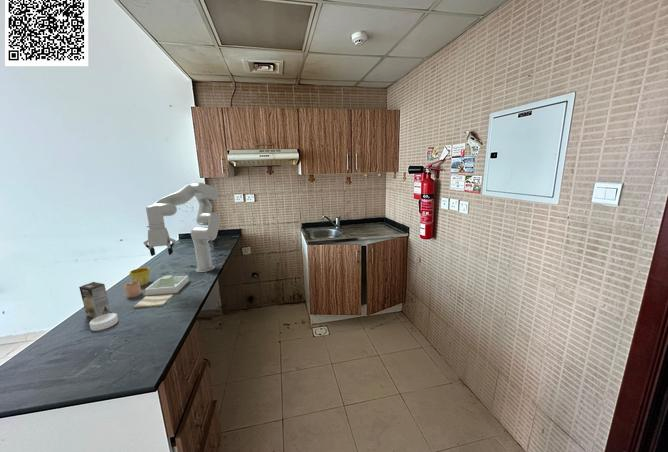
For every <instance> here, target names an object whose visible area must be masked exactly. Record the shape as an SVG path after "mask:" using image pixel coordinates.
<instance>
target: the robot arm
mask: <svg viewBox="0 0 668 452" xmlns="http://www.w3.org/2000/svg"><path fill="white" fill-rule="evenodd" d="M219 195H220V194H219V190H218V189H217V188H216V187H215V186H212V185H209V184H206V183H204V182H190V183H187V184H186V185H184V186H183V187H182V188H180V189H179V190H178V191H176V192H174V193H171V194H169V195H167V196H164V197H162V198H159V199H158V200H157V201H155V202H154V203H153V204H152V205H147V206H146V207H145V211H146V217H147V222H148V225H146V228H148V229H147V240H145V241H143V245H144V246H145V248H147V249H148V250H149V254H150V256H151V257H153V256H155V255H156V250H155V247H165V246H166V247H167V252H168V255H169V256H170V255H172V254H173V253H174V252H173V251H174V250H173V247H174V246H175V245H176V241H177V240H176V239H174V238H171V237H170V234H169V232H168V229H167V227H166V226H165V220H164V217H172V216H174V215H175V214H176V213H177V212H178V209H177V206H180V205H184V204H186V203H188V202H189V201H190V200H192V199H193V198H194V197H195V198H196V200H197V202H198V204H199V206H198V212H197V215H196V224H197V225H199V226H196V227H193V228H192V229H191V231H190V236H191V240H192V241H193V246H194V251H195V258H196V265H197V267H196V268H195V271H196V272H197V273H205V272H206V273H207V272H209V271H212V270H214V269H215V268H216V266H215V265H214V264H213V263H212V262H213V259H212V255H211V248H210V243H209V242H208V241H214V240H215V239H216V238H217V236H218V232H219V227H220V222H221V219H220V218H221V217H220V215H219V214H218V213H217V212H212V210H213V205H212V203H211V202H210V200H216V199H217V198H218V197H219Z"/></svg>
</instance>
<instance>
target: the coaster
mask: <svg viewBox="0 0 668 452" xmlns="http://www.w3.org/2000/svg"><path fill="white" fill-rule="evenodd" d="M118 321H119V319H118V314H117V313H114V312H112V313H108V314H104V315H101V316H98V317H96V318H92V319H91V320H90V321H89V328H90V330H91V331H93V332H95V331H102V330H106V329H108V328H111V327H112V326H114V325H116V324H117V323H118Z"/></svg>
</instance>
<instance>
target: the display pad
mask: <svg viewBox="0 0 668 452" xmlns="http://www.w3.org/2000/svg"><path fill="white" fill-rule="evenodd" d="M174 294H175V293H170V294H159V295H147V296H146V295H145V296H144V297H143V298H141V300H139V301H138V302H137V303H136V304H134V305H133V307H132V308H133V309H143V308H152V307H154V308H155V307H164V306H165V305H166V304H167V302H168V301H169V300H170V299H171V298H172V296H174Z"/></svg>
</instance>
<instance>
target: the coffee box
mask: <svg viewBox="0 0 668 452" xmlns="http://www.w3.org/2000/svg"><path fill="white" fill-rule="evenodd" d="M78 288H79V292H80V297H81V299H82V303H83V307H84V312H85V314H86V317H88V318H89V317H90V318H92V319H94V318H96V317H98V316H101V315H104V314H108V313H111V306H110V302H109V299H108V294H107V289H106V285H105V283H102V282H96V281H92V282H89V283H87V284H84V285H81V286H79V287H78Z"/></svg>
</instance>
